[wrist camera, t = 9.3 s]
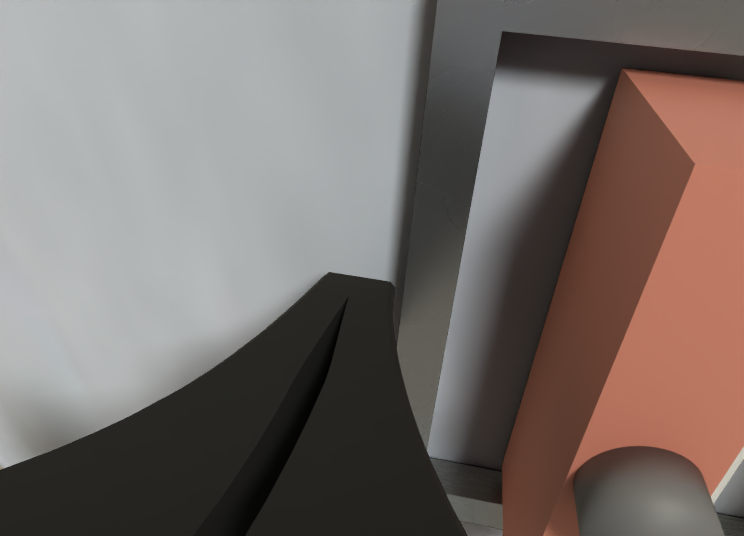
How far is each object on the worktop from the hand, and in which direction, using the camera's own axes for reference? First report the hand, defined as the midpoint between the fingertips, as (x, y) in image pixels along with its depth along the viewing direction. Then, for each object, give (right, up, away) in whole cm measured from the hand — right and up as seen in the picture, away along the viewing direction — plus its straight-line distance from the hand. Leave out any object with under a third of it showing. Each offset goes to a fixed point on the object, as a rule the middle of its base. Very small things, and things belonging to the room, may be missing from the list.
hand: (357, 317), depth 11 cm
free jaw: (+5, 0, +1) cm, 5 cm away
